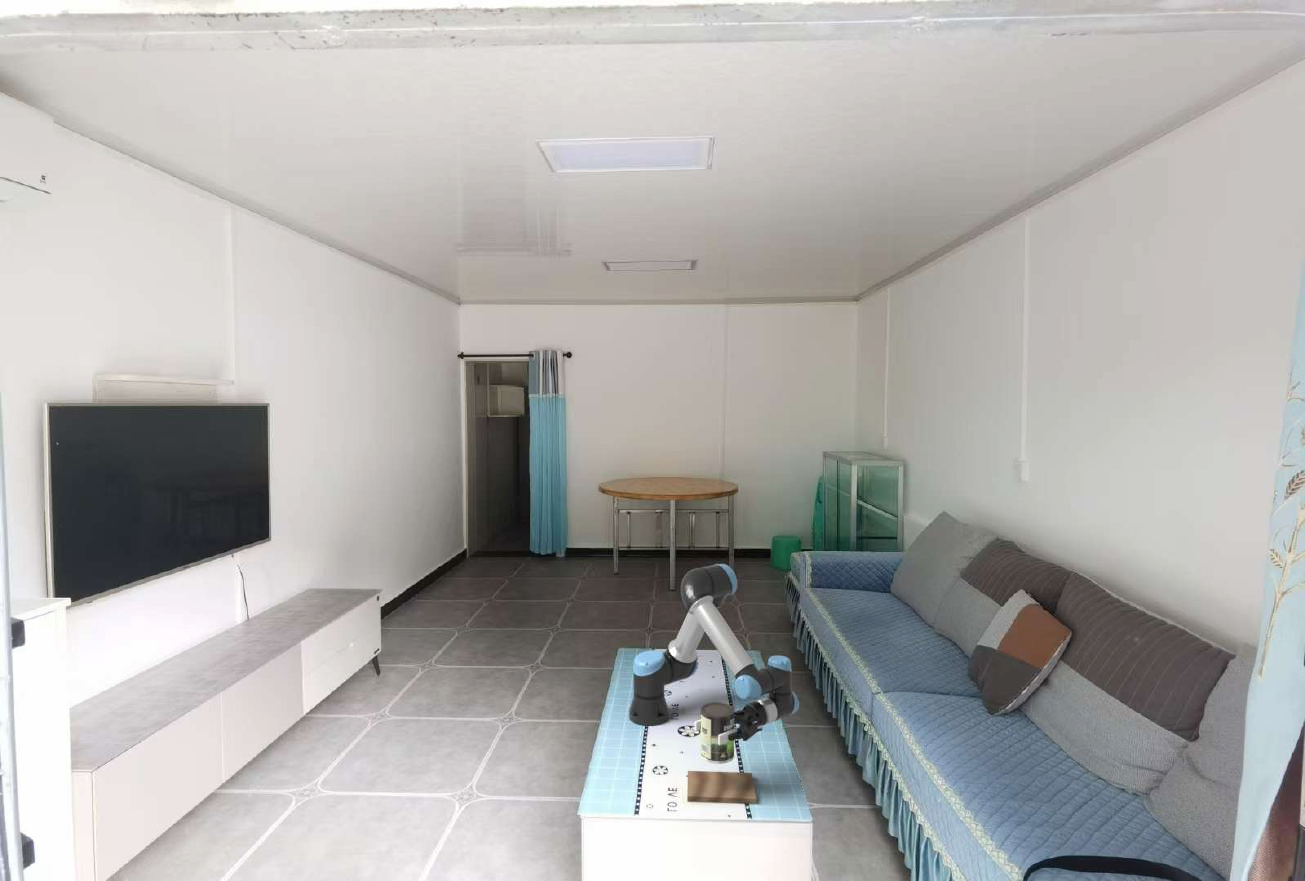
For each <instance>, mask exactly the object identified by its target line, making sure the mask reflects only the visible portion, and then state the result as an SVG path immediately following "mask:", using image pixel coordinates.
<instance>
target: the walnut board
mask: <svg viewBox="0 0 1305 881" xmlns="http://www.w3.org/2000/svg"><path fill="white" fill-rule="evenodd" d="M686 793H687V796H686V797H687V798H686V799H687V802H692V803H693V802H694V803H695V802H696V803H718V804H719V803H720V804H721V803H723V804H726V803H727V804H744V805H745V804H750V805H757V794H756V789H755V783H754V777H753V773H752V772H738V771H737V772H735V771H733V772H732V771H708V770H707V771H705V770H704V771H703V770H687V792H686Z"/></svg>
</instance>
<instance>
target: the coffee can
mask: <svg viewBox="0 0 1305 881" xmlns="http://www.w3.org/2000/svg"><path fill="white" fill-rule="evenodd" d="M733 707H734V706H732V705H731V704H727V703H724V702H709V703H705V704H702V706H701V707H700V709H699V710H700V719H701V730H700V757H701V758H702V760H704V761H706V762H708V763H710V764H717V765H721V764H722V765H723V764H726V763H730V762H732V761H733V760H734V758H735V740H733V741H729V742H727V743H724V744H722V745H719V744H718V735H720V734H722V733H725V732H727V731H730V730H733V729H735V724H734V716H735V715H734V713H735V710H736V709H735V707H734V708H733Z"/></svg>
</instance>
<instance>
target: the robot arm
mask: <svg viewBox="0 0 1305 881" xmlns="http://www.w3.org/2000/svg"><path fill="white" fill-rule="evenodd" d="M737 589H738V580H737V576H736V573H735V571H734V570H733V569H732V567H730V565H727V564H725V563H715V564H712V565H709V566H708V565H706V566H703V567H699V568H698V567H697V568H692V569H691V570H689V571H688V572H687V573H685V574H684V576H683V577H682V580H681V584H680V596H681V599H682V603H683V604H684V606H685V608H686V610H687V611H688V612H687V613H686V616H685V619H684V620H683V623H682V625H681V627H680V630H679V631H678V633H677V635H676V638H675V639H673V640H671V641H670V642H669V644H668V646H667V647H666V650H665V651H664V652H662V651H661V650H656V649H655V650H645V651H642V652H640V653H638V654H636V656H635V657H634V660H633V666H632V671H633V673H632V674H633V697H632V700H631V703H630V707H629V709H628V719H629V721H631V722H633V723H634V724H636V725H640V726H657V725H658V726H659V725H661V724H664V723H666V722H668V720H669V719H670V709H669V706H668V703H667V700H666V697H665V686H667V685H670V684H672V683H676V682H678V681H679V682H680V681H683V680H686V679H689V678H690V677H691V676H694V675H695V673H696V672H697V671H698V667H699V662H698V660H699V656H698V653H697V648H698V646H699V644H700V643H701V640H702V638H703V636H704V634H706V635H707V636H708V638H709V639H710V641H711V643H712V644H713V645H714V647H715V649H716V650H717V652H718V653H719V655H720V656H721V658H722V660H723V661H724V662H725V664H726V666H727V667H728V668H729V670H730V672H731V673H732V674H733V676H734V678H735V679H736V680H735V682H734V689H735V694H736V695H737V696H738V697H739V699H741V700H742V701H745V702H746V701H752V700H755V701H752V702H749V703H747V704H745V705H744V707H743V709H738V710H737V709H735V707H734V706H732V707H733V708H734V710H735V713H734V725H735V724H737V725H739V726H738V727H736V729H735V728H734V729H733V730H730V731H727V732H725V733H722V734H720V735H718V744H719V745H722V744H724V743H727V742H729V741H733V740H734V741H736V740H741V739H742V741H744V742H747V741H748V740H749V739H751V738H752V737H753V736H754V735H756V734H757V733H758V732H762V731H763V726H766V725H767V724H768V725H769V724H771V723H773V722H776V721H779V720H781V719H784V718H787V717H790V716H791V715H793V714H795V713H797V712H798V710H799V708H800V701H799V700H798V699H799V698H798V696H797V694H796V693H795V691H793V690H792V689H793V686H792V685H793V683H792V681H793V679H792V678H793V677H792V676H793V674H792V673H793V670H792V662H791V659H790V658H789V657H787V656H784V655H780V654H779V655H778V654H777V655H772V656H769V658H768V660H767V666H765V667H763V668H762V667H761V668H760V669H759V668H758V667H757V666H756V664H755V663H754V661H753V660H752V659H751V657H750V655H749V654H748V653H747V652H746V650H745V648H744V647H743V646H742V644H741V643H740V640H738V638H737V637H736V635H735V633H734V632H733V630H732V629H731V628H730V626H729V624H728V623H727V622H726V619H724V617H723V616H722V614H721V613H720V611H719V609H720V608H721V607H722V606H723V604H724V602H725V601H726V598H727V596H732V595H733V594H734V593H735V592H736V591H737ZM767 694H768V696H766V697H764V698H763V696H765V695H767ZM760 697H762V698H760ZM758 698H760V699H758ZM757 699H758V700H757ZM694 731H695V732H697V731H701V718H700V719H698V720H695V721H694Z"/></svg>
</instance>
